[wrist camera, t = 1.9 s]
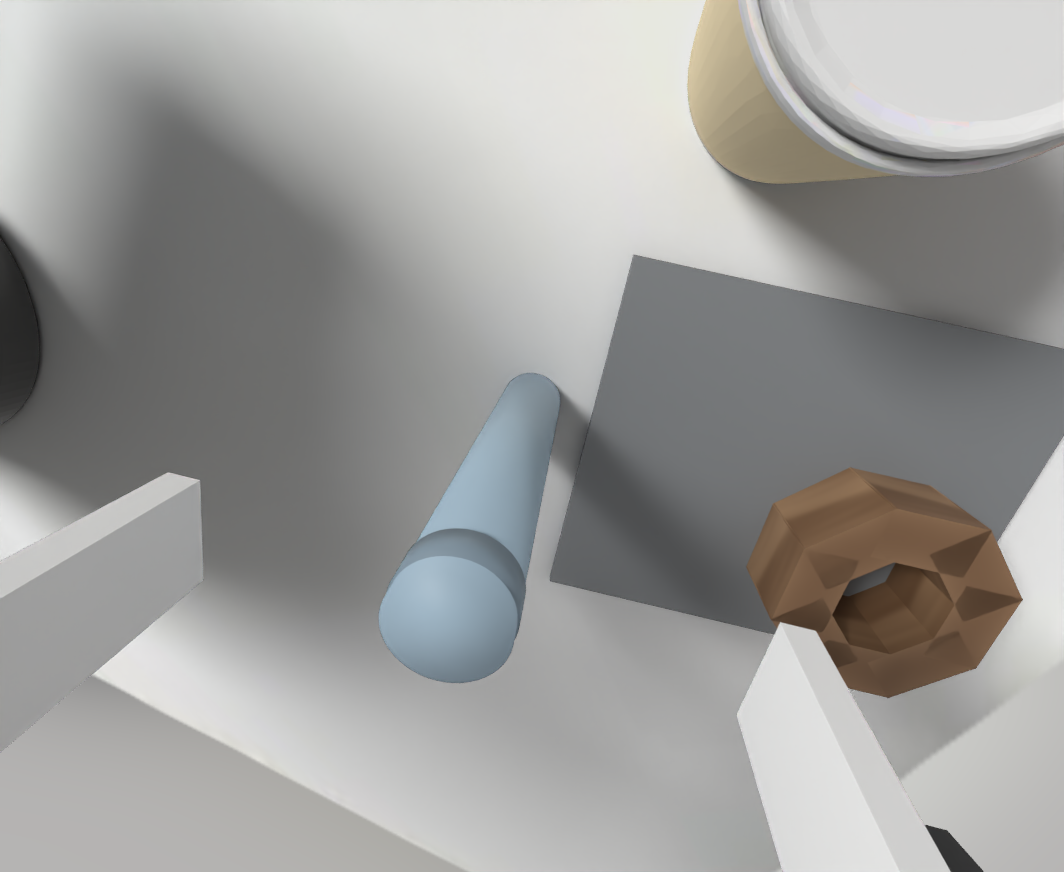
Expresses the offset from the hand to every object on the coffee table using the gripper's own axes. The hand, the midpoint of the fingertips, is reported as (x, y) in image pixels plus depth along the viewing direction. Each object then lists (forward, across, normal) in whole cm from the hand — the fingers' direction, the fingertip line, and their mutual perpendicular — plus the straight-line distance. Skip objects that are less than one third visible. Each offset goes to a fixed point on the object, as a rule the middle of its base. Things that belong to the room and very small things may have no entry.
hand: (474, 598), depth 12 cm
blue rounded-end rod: (+15, 0, 0) cm, 15 cm away
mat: (+15, +12, -1) cm, 19 cm away
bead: (+14, +16, -4) cm, 22 cm away
